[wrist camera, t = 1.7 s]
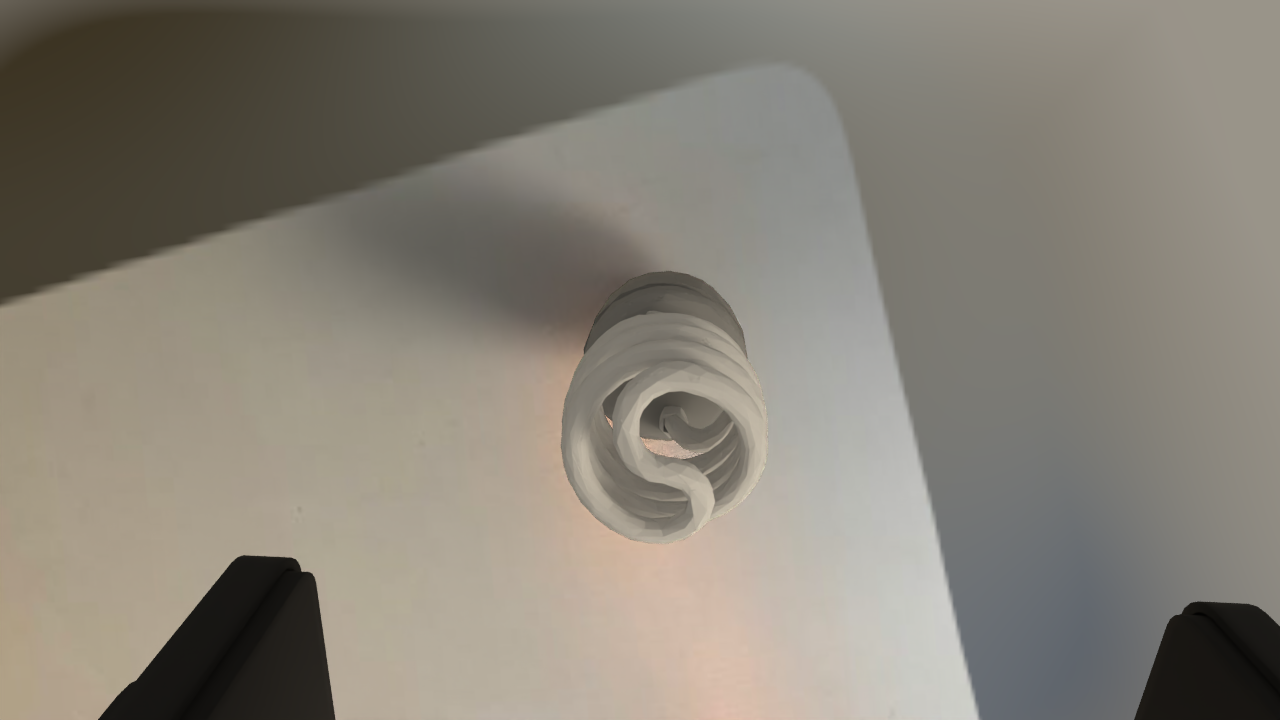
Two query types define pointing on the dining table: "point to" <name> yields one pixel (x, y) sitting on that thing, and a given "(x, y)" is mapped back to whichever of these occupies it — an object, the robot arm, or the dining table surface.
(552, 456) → the dining table surface
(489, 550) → the dining table surface
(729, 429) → the light bulb
